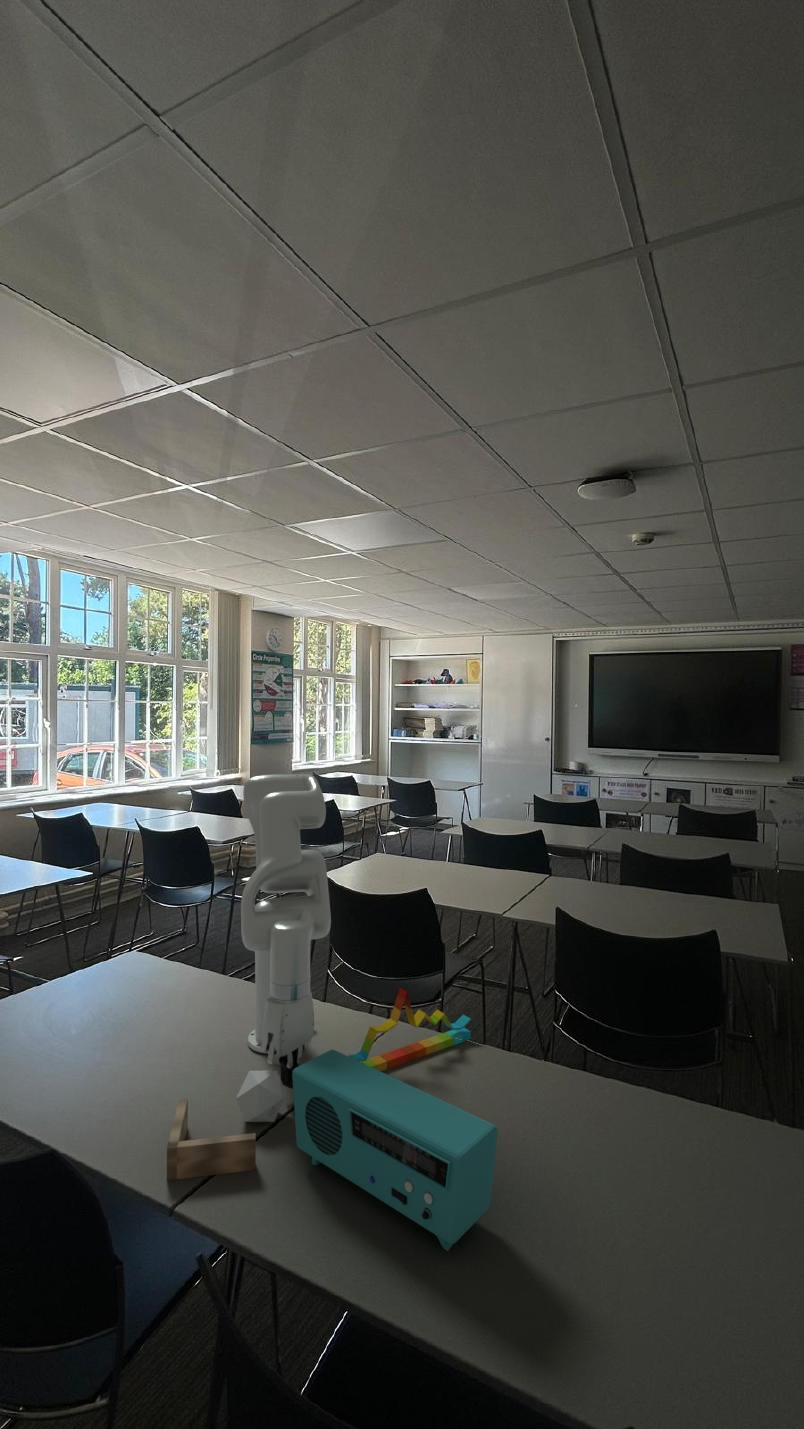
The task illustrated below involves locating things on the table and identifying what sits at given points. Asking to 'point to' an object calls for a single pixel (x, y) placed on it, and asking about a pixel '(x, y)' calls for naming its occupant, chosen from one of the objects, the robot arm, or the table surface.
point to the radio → (396, 1143)
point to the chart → (416, 1048)
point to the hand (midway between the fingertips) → (289, 1084)
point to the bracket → (206, 1151)
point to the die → (261, 1096)
